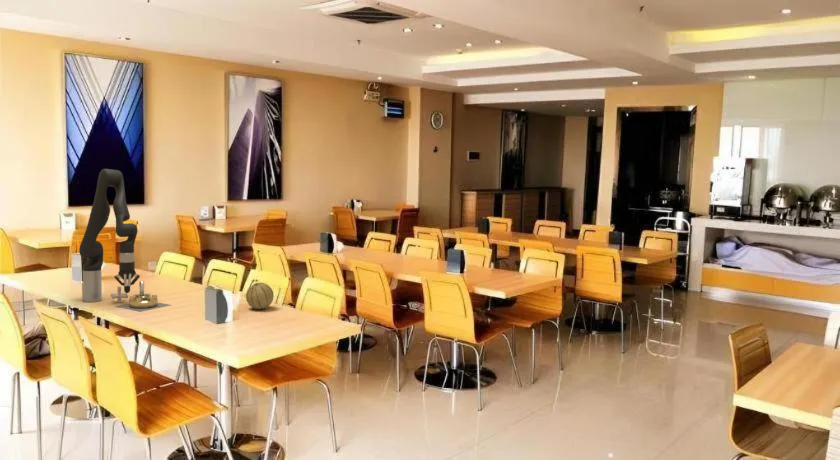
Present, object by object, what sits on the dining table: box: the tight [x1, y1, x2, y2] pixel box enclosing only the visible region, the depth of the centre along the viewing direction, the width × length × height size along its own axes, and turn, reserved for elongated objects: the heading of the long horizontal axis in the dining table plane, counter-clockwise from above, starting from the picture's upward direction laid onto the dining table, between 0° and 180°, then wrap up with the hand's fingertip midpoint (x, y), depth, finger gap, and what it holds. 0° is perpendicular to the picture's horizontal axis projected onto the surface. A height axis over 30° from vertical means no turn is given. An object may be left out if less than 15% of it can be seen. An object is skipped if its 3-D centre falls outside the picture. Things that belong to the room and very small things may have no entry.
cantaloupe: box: [245, 282, 275, 310], centre depth 358 cm, size 15×15×15 cm
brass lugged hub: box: [128, 280, 159, 308], centre depth 349 cm, size 14×14×12 cm
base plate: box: [114, 301, 172, 313], centre depth 349 cm, size 20×20×2 cm
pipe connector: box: [110, 285, 129, 303], centre depth 355 cm, size 10×10×10 cm
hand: (127, 292), depth 349 cm, fingers closed
